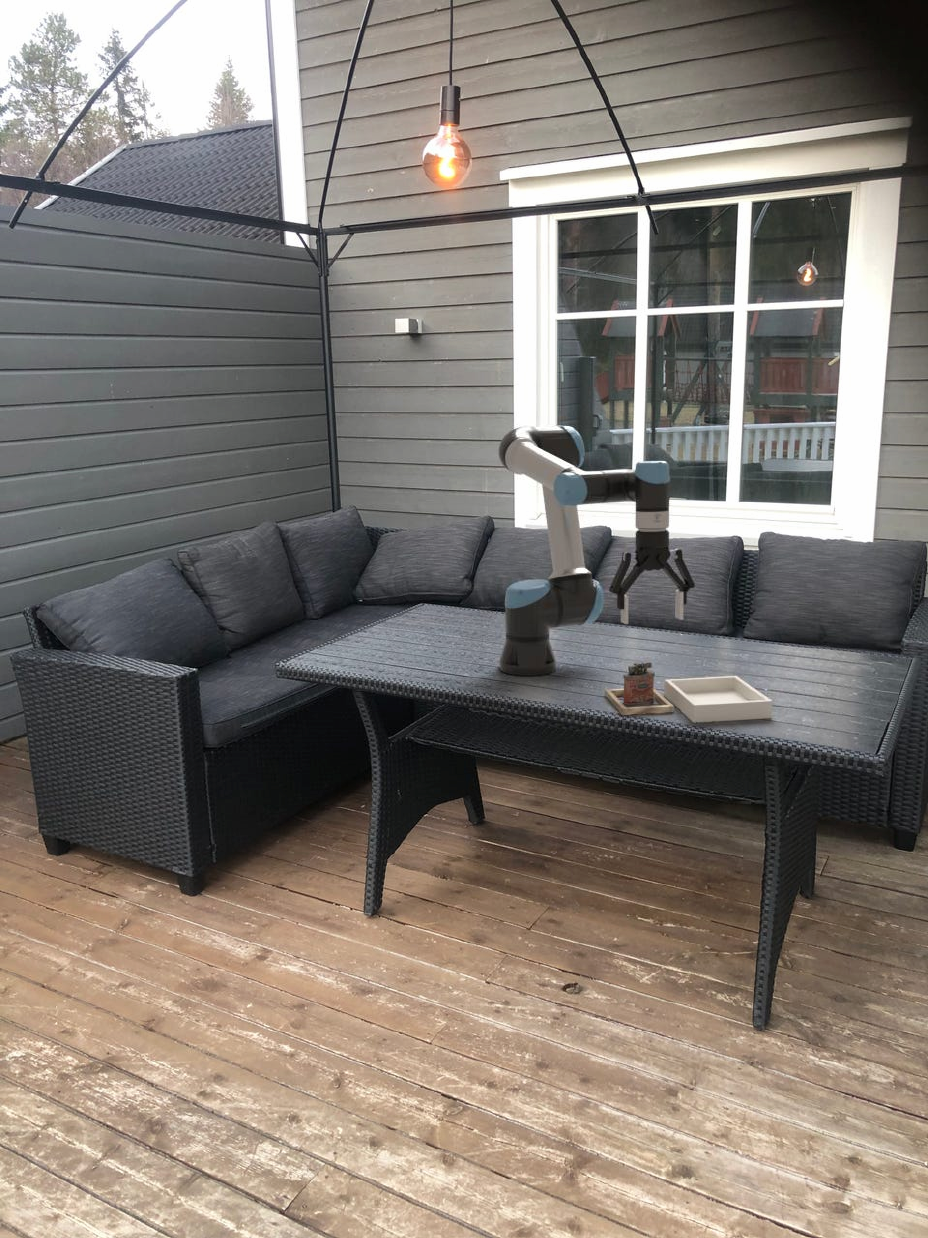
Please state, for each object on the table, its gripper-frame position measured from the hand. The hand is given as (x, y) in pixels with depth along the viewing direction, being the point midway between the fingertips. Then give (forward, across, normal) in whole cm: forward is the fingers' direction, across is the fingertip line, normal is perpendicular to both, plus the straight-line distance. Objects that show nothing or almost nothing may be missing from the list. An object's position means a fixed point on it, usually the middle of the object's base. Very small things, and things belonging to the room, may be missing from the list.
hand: (652, 620), depth 224 cm
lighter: (+20, -3, 0) cm, 20 cm away
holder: (+20, -3, 0) cm, 20 cm away
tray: (+20, +13, -6) cm, 25 cm away
